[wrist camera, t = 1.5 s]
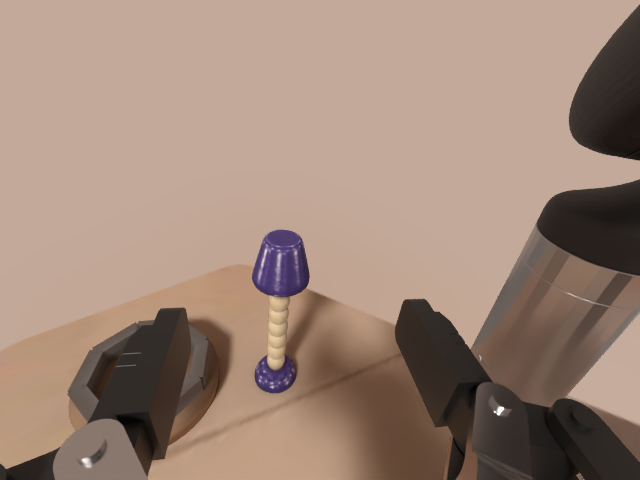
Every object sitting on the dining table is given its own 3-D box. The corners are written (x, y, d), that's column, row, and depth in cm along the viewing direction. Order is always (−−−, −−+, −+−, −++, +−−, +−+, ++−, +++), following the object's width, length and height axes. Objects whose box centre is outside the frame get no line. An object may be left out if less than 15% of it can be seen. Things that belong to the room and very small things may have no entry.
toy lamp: (279, 347, 34) (281, 217, 26) (310, 371, 32) (324, 237, 23) (245, 376, 31) (235, 238, 22) (278, 405, 29) (280, 264, 20)
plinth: (223, 333, 35) (220, 310, 33) (211, 446, 26) (206, 422, 24) (108, 343, 33) (98, 318, 31) (46, 471, 23) (25, 446, 21)
